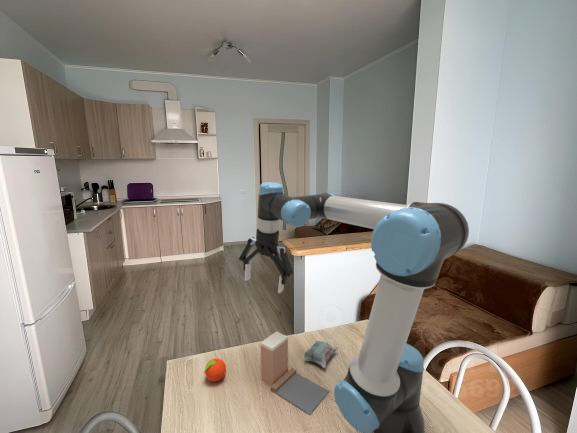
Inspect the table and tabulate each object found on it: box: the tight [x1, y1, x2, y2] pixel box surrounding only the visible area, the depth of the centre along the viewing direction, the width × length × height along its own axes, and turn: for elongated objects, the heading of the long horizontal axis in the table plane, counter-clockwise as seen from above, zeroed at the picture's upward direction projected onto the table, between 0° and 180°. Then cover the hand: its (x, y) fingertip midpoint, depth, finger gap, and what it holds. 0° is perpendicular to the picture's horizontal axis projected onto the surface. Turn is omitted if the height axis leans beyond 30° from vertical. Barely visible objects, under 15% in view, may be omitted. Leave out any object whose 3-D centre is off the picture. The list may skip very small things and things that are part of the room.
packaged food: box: [303, 340, 339, 369], centre depth 109 cm, size 9×12×5 cm
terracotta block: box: [260, 331, 289, 387], centre depth 99 cm, size 5×8×14 cm, turn 142°
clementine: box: [203, 357, 227, 382], centre depth 98 cm, size 8×7×7 cm
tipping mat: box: [270, 367, 330, 416], centre depth 94 cm, size 15×11×2 cm
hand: (263, 285), depth 104 cm, fingers open, 13 cm apart
